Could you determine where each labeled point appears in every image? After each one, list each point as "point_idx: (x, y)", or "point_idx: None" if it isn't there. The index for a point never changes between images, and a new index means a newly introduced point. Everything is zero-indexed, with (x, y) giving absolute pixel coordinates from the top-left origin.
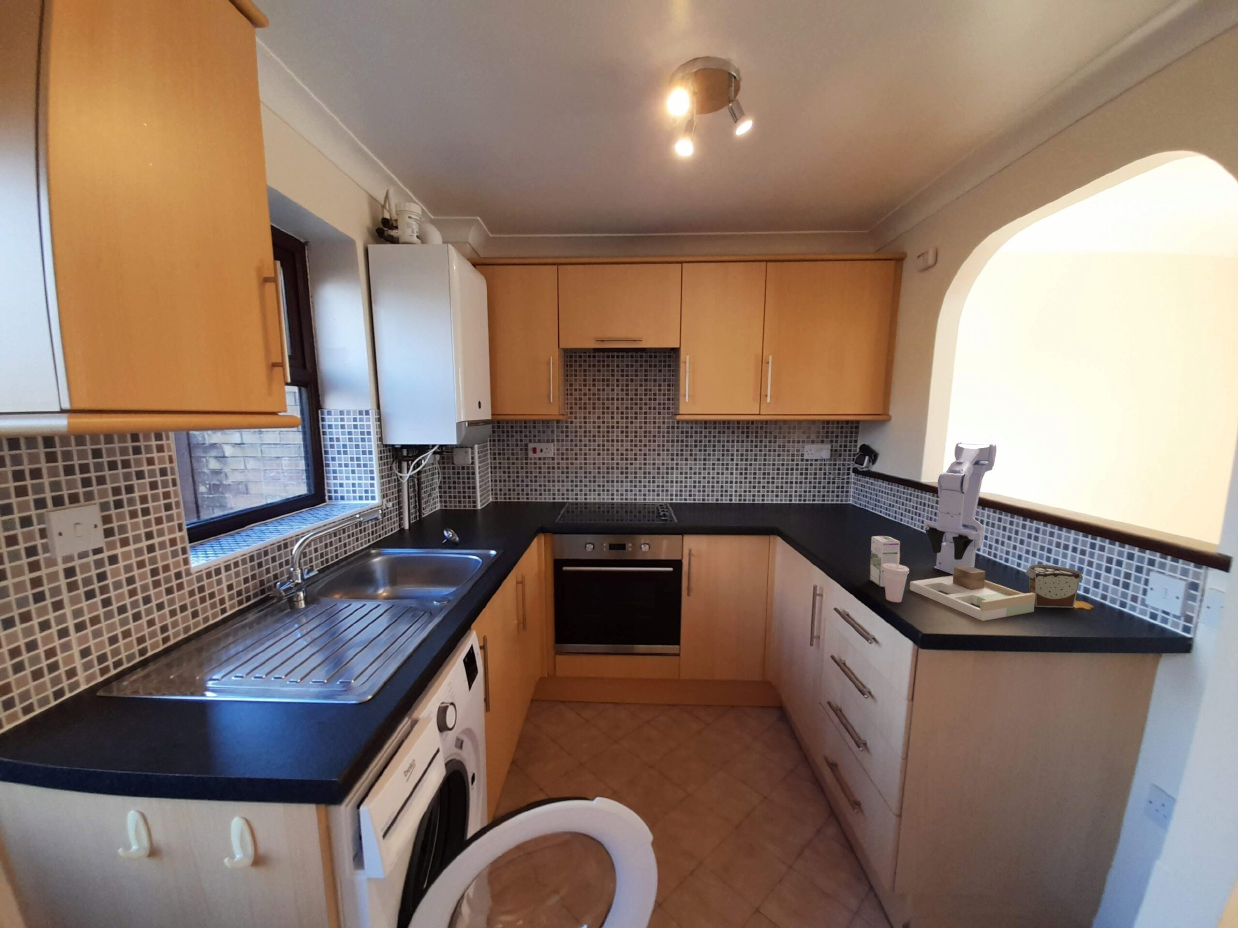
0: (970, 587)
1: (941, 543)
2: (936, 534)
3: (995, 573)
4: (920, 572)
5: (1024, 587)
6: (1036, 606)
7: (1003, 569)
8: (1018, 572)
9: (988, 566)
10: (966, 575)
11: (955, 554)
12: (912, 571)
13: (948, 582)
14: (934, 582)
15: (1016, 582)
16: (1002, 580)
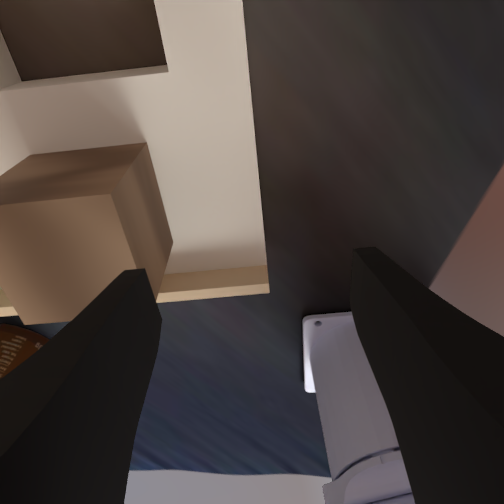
0: (25, 161)
1: (382, 390)
2: (471, 486)
3: (307, 429)
4: (441, 195)
5: (181, 412)
6: (2, 325)
7: (326, 463)
8: (294, 473)
9: None
10: (17, 189)
11: (107, 297)
12: (475, 162)
13: (165, 128)
14: (169, 9)
15: (224, 423)
16: (248, 405)
